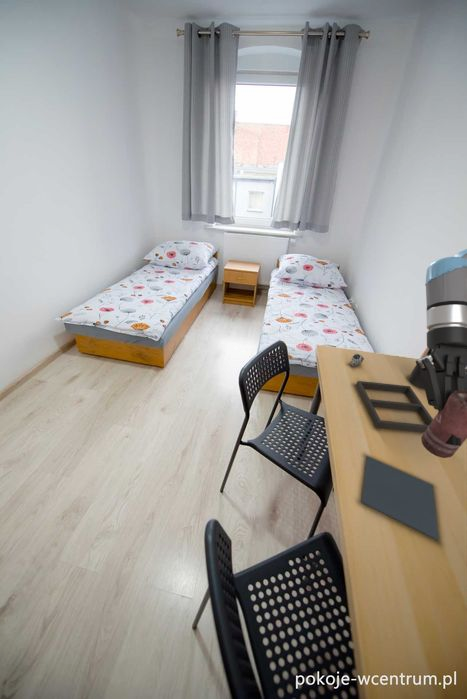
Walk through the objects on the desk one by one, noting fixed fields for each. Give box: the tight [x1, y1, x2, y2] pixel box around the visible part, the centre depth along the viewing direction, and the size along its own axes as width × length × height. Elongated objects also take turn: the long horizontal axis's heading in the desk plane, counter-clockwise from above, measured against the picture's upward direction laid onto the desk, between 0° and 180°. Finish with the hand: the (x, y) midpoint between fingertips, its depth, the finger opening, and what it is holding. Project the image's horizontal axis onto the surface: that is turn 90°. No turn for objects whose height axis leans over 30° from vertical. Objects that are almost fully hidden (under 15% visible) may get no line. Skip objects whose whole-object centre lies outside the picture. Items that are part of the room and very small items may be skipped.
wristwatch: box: [349, 353, 365, 367], centre depth 109 cm, size 4×6×5 cm, turn 118°
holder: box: [355, 380, 434, 434], centre depth 92 cm, size 19×19×2 cm
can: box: [420, 390, 467, 459], centre depth 56 cm, size 6×6×14 cm
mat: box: [361, 455, 439, 542], centre depth 68 cm, size 16×14×1 cm
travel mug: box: [408, 346, 434, 390], centre depth 100 cm, size 8×8×20 cm
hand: (451, 444), depth 55 cm, fingers closed
